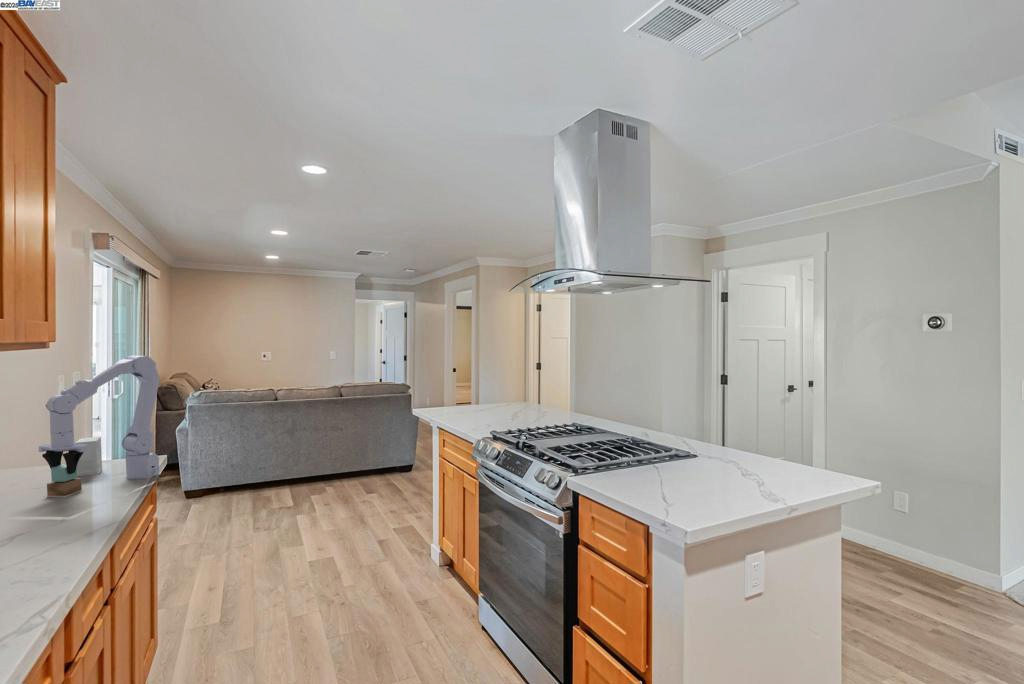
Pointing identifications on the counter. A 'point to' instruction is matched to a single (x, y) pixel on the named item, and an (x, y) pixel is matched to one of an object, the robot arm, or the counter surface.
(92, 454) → the small box
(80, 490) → the mat
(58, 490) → the walnut block
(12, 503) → the counter surface
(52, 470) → the teal block
